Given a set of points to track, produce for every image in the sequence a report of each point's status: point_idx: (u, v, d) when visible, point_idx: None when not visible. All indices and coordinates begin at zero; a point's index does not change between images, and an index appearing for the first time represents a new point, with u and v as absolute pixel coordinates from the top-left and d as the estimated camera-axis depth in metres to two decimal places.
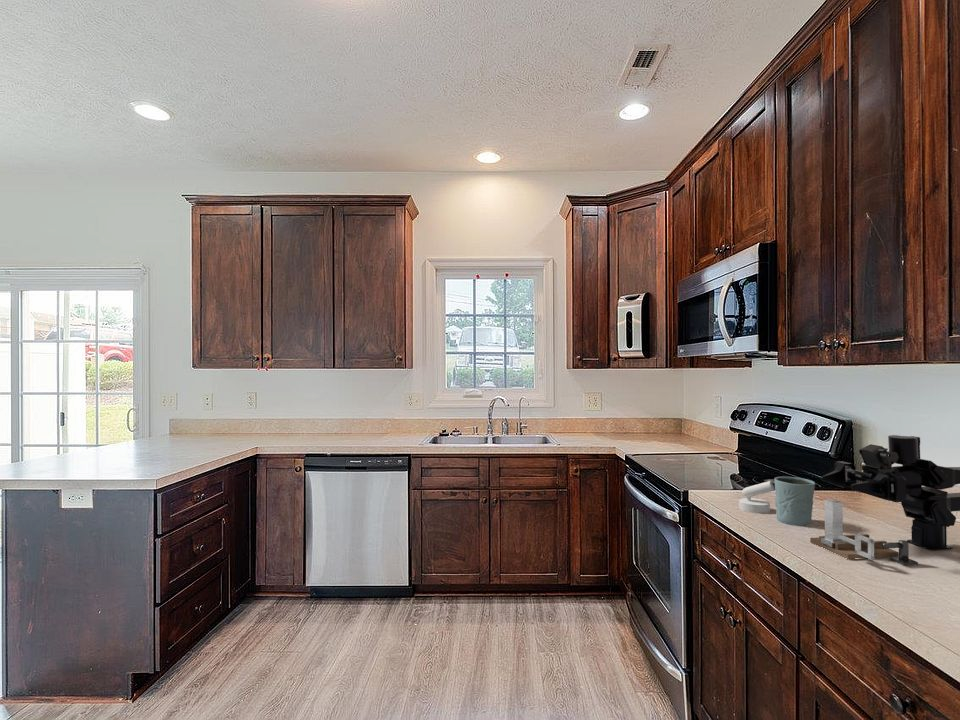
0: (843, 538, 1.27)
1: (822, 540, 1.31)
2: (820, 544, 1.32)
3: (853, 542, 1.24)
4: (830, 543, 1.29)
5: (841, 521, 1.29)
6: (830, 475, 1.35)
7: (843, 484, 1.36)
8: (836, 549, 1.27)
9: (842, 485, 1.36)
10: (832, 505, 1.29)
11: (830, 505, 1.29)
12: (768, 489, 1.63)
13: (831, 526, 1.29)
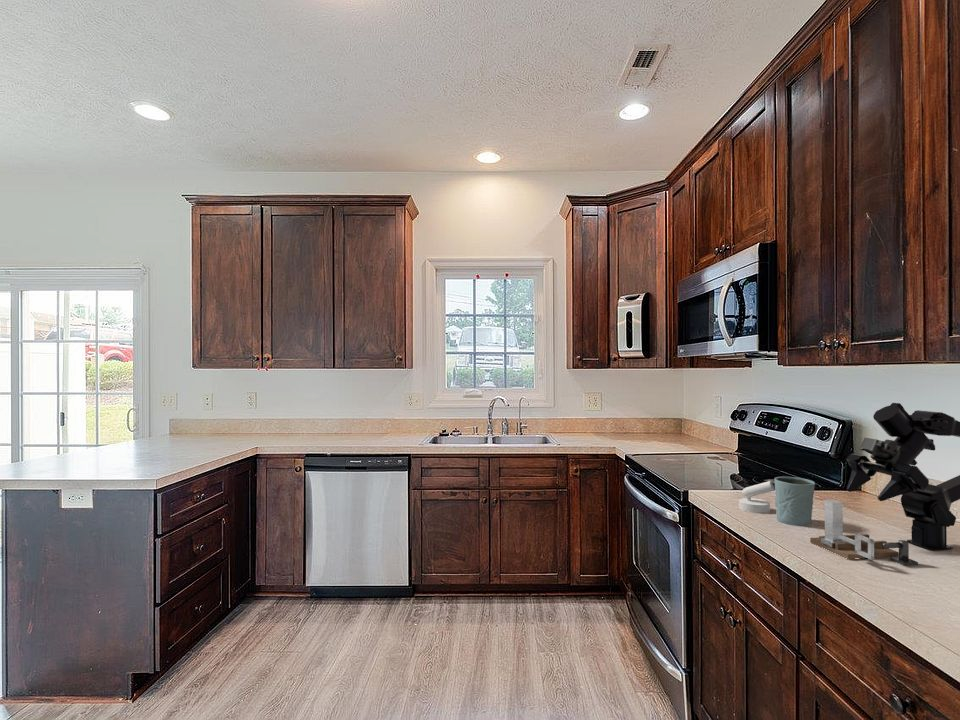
0: (843, 538, 1.27)
1: (822, 540, 1.31)
2: (820, 544, 1.32)
3: (853, 542, 1.24)
4: (830, 543, 1.29)
5: (841, 521, 1.29)
6: (852, 482, 1.36)
7: (867, 478, 1.37)
8: (836, 549, 1.27)
9: (867, 479, 1.37)
10: (832, 505, 1.29)
11: (830, 505, 1.29)
12: (768, 489, 1.63)
13: (831, 526, 1.29)
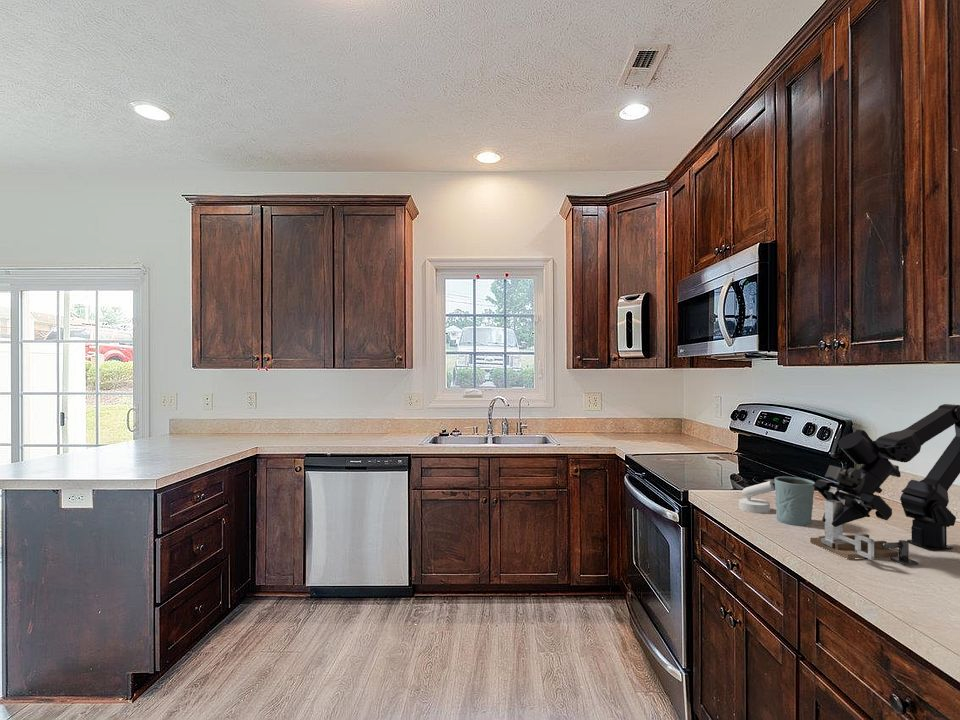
0: (843, 538, 1.27)
1: (822, 540, 1.31)
2: (820, 544, 1.32)
3: (853, 542, 1.24)
4: (830, 543, 1.29)
5: None
6: None
7: None
8: (836, 549, 1.27)
9: None
10: (832, 505, 1.29)
11: (830, 505, 1.29)
12: (768, 489, 1.63)
13: (831, 526, 1.29)
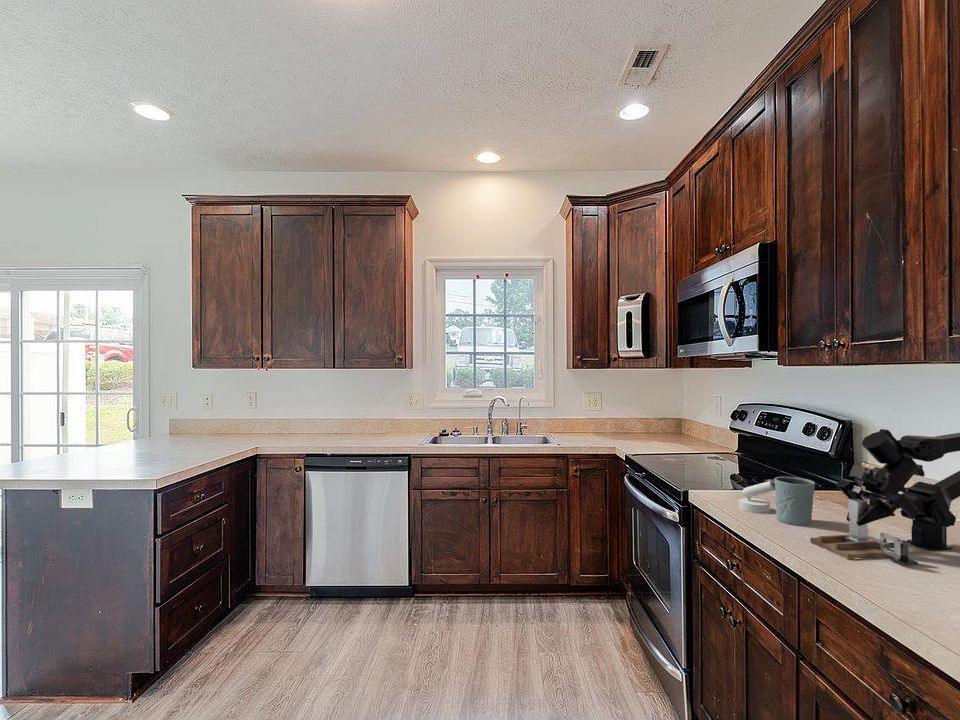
0: (868, 537, 1.27)
1: (846, 539, 1.32)
2: (820, 544, 1.32)
3: (879, 541, 1.25)
4: None
5: None
6: None
7: None
8: (836, 549, 1.27)
9: None
10: (857, 505, 1.30)
11: (855, 504, 1.30)
12: (768, 489, 1.63)
13: (856, 525, 1.30)
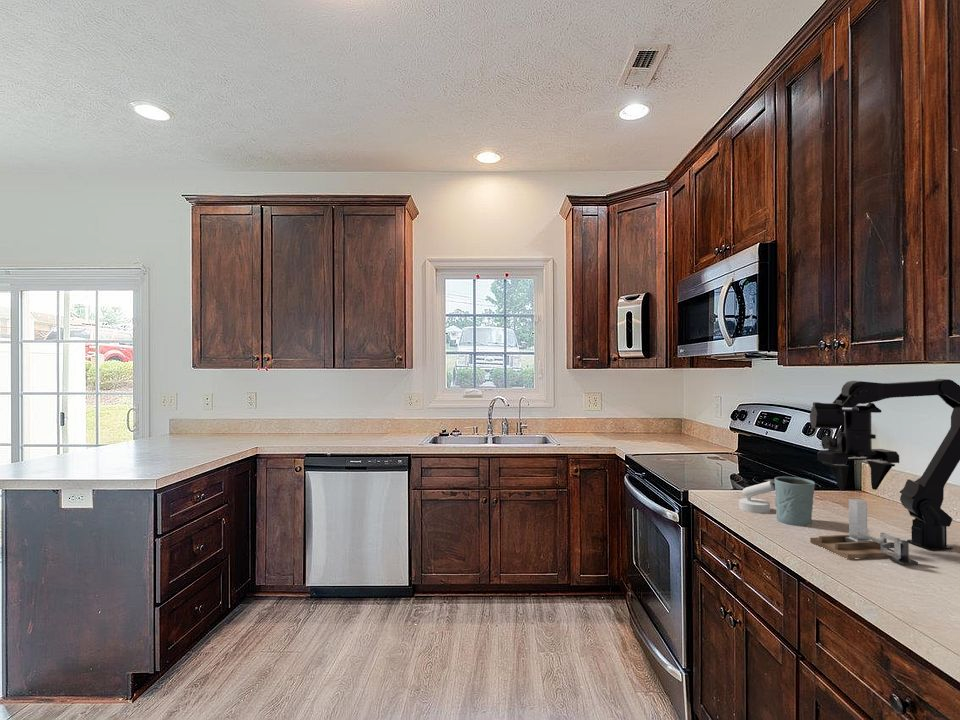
0: (868, 537, 1.27)
1: (846, 539, 1.32)
2: (820, 544, 1.32)
3: (879, 541, 1.25)
4: None
5: (866, 520, 1.30)
6: (871, 480, 1.39)
7: (882, 467, 1.36)
8: (836, 549, 1.27)
9: (883, 468, 1.36)
10: (857, 505, 1.30)
11: (855, 504, 1.30)
12: (768, 489, 1.63)
13: (856, 525, 1.30)
